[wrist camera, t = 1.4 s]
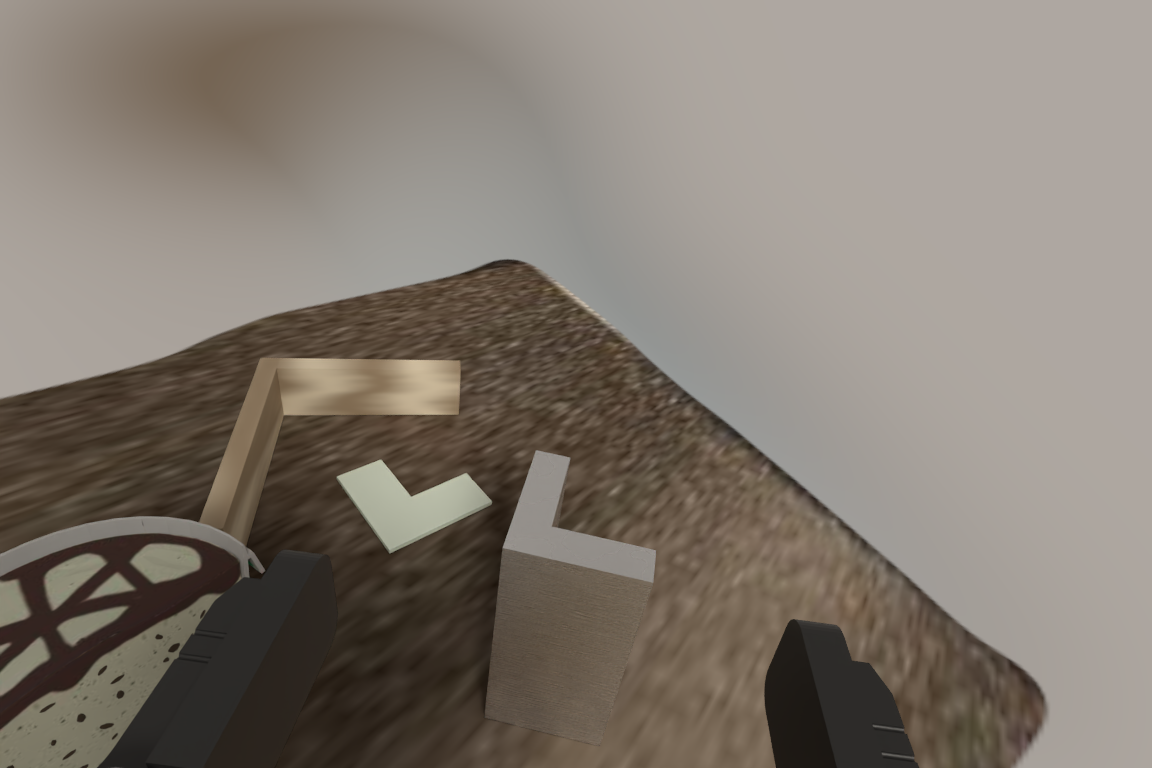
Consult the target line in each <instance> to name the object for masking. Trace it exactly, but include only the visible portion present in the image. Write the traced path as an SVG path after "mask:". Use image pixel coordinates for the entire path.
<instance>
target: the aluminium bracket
mask: <svg viewBox="0 0 1152 768" xmlns="http://www.w3.org/2000/svg"><path fill="white" fill-rule="evenodd" d="M569 463H570V458H569V457H564V456H560V455H555V454H551V453H546V452H542V451H537V450H536V452H535V455H534V458H533V461H532V464H531V467H530V470H529V473H528V476H527V479H526V482H525V484H524V487H523V490H522V493H521V496H520V499H519V502H518V505H517V508H516V511H515V513H514V516H513V519H512V522H511V525H510V528H509V531H508V534H507V537H506V540H505V543H504V545H503V549H502V559H501V568H500V577H499V586H498V596H497V605H496V614H495V623H494V633H493V642H492V651H491V660H490V669H489V679H488V688H487V697H486V706H485V716H484V718H488V719H492V720H496V721H500V722H504V723H508V724H512V725H516V726H520V727H524V728H528V729H532V730H537V731H541V732H545V733H549V734H553V735H557V736H561V737H565V738H569V739H573V740H577V741H581V742H585V743H589V744H593V745H597V746H600V743H601V740H602V737H603V734H604V731H605V728H606V725H607V722H608V719H609V716H610V713H611V710H612V707H613V704H614V701H615V698H616V695H617V692H618V689H619V686H620V682H621V679H622V676H623V673H624V670H625V667H626V664H627V661H628V658H629V655H630V652H631V649H632V646H633V643H634V640H635V637H636V634H637V631H638V628H639V625H640V621H641V618H642V615H643V612H644V609H645V606H646V603H647V600H648V597H649V594H650V591H651V588H652V585H653V579H654V568H655V557H656V550H652V549H648V548H644V547H639V546H635V545H630V544H626V543H622V542H617V541H613V540H609V539H604V538H600V537H595V536H591V535H587V534H582V533H578V532H574V531H569V530H565V529H560V528H558V524H559V519H560V513H561V507H562V502H563V496H564V491H565V485H566V479H567V474H568V468H569Z"/></svg>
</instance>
